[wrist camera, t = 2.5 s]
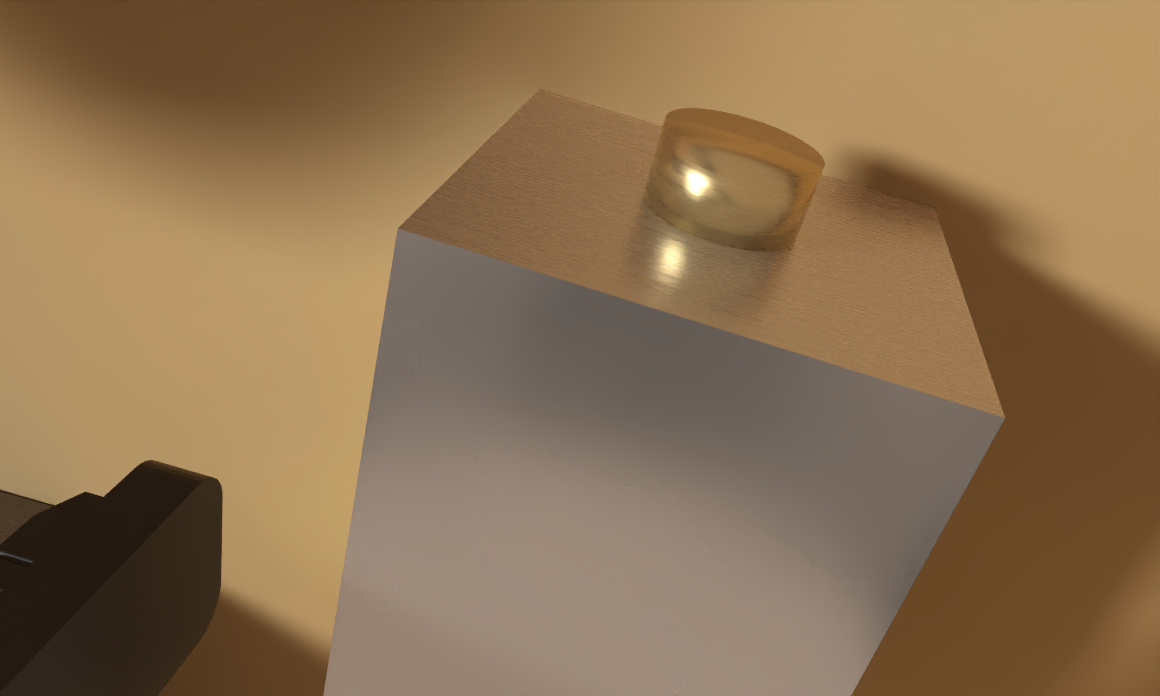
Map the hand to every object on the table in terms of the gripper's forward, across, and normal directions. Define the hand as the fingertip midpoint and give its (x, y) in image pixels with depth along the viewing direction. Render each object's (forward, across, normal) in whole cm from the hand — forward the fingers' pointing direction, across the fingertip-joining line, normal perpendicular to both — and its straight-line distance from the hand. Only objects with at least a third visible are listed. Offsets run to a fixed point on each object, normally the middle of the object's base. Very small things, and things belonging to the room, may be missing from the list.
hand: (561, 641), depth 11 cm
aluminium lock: (+4, 0, 0) cm, 4 cm away
